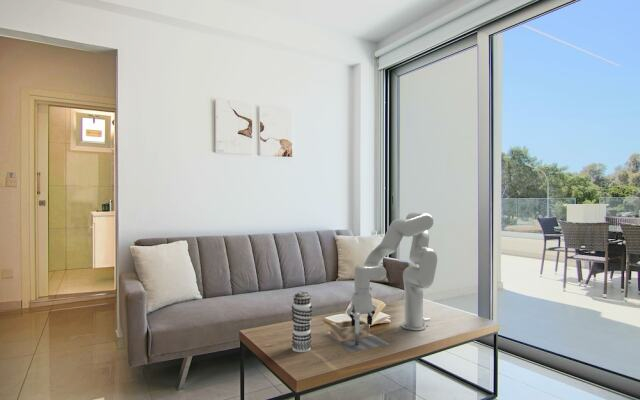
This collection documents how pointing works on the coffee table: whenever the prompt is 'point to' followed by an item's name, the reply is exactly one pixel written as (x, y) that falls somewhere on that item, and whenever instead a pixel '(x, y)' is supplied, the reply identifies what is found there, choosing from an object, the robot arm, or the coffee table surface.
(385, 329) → the coffee table surface
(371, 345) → the pin stand
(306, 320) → the decorative candle
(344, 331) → the open wooden box
